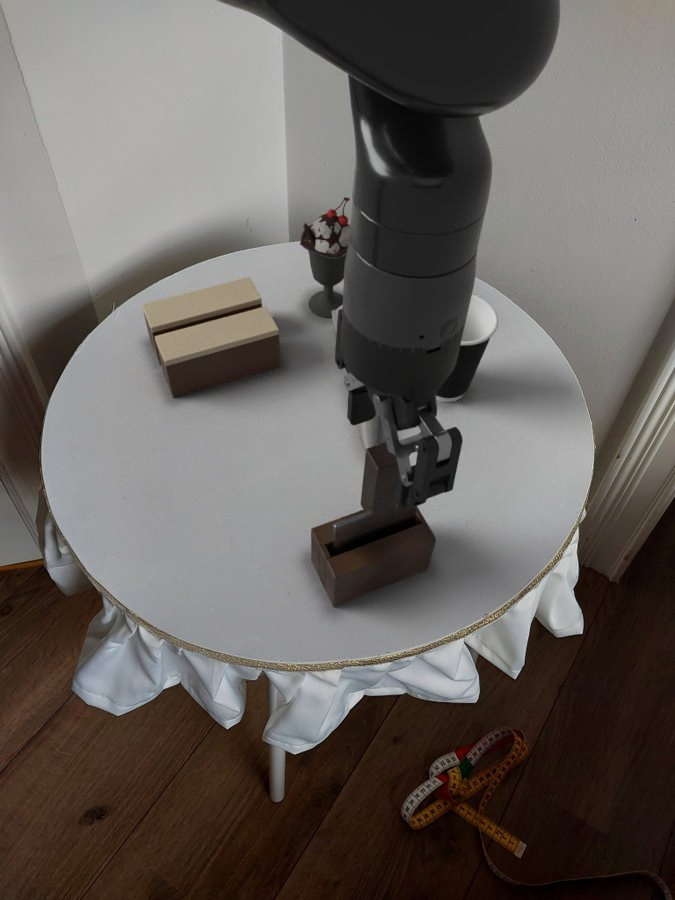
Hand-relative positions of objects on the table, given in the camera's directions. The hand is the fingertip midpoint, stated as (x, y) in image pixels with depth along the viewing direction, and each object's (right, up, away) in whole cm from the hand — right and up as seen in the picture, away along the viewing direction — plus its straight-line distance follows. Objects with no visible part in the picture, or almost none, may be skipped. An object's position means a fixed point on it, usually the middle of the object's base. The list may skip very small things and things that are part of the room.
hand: (384, 459), depth 56 cm
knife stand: (-1, -10, +14) cm, 17 cm away
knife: (-1, -10, +14) cm, 17 cm away
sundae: (-5, +19, +36) cm, 41 cm away
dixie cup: (+9, +8, +28) cm, 31 cm away
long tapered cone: (0, +8, +28) cm, 29 cm away
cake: (-18, +12, +30) cm, 37 cm away
